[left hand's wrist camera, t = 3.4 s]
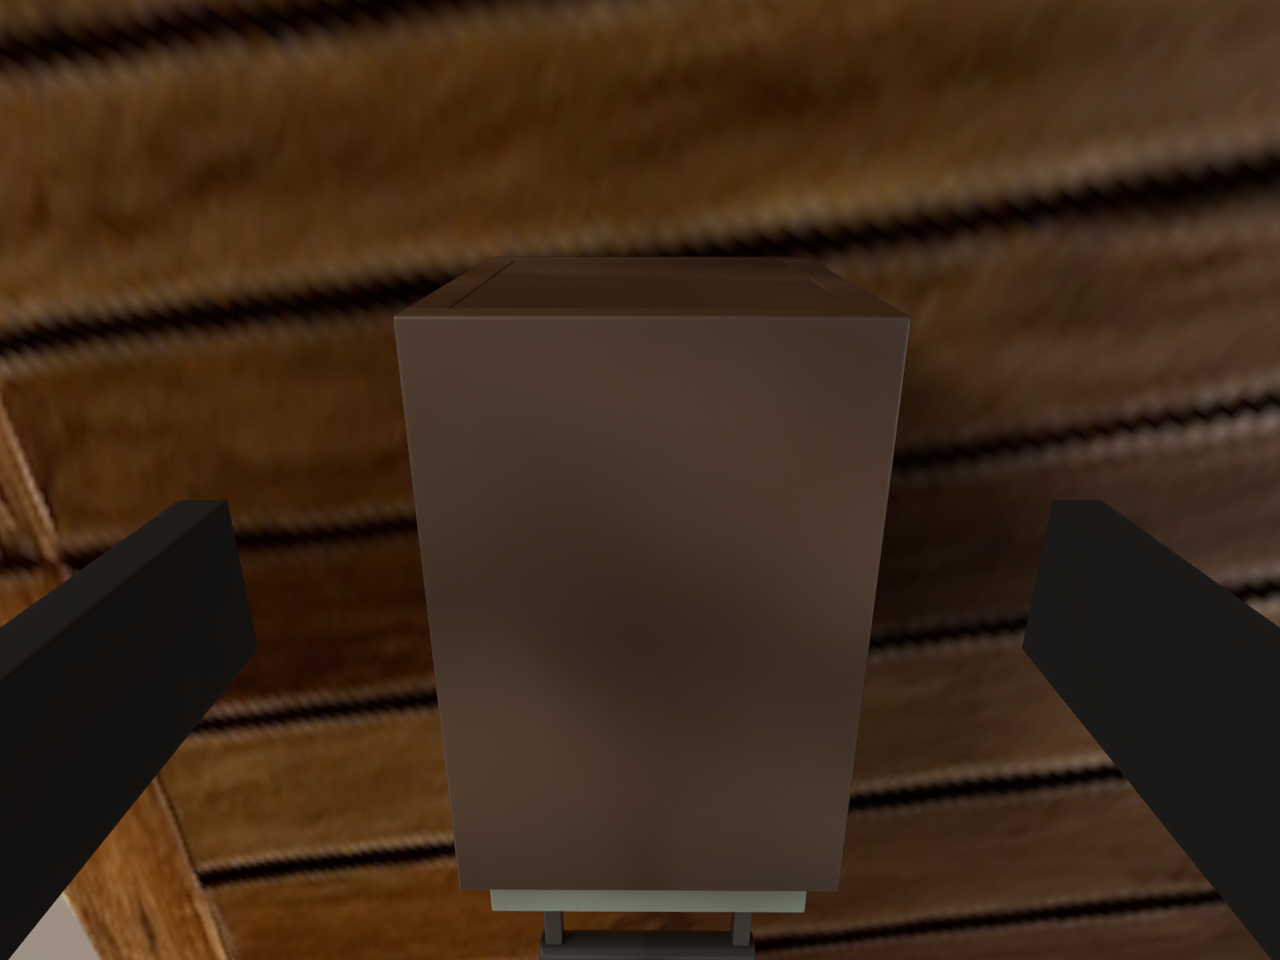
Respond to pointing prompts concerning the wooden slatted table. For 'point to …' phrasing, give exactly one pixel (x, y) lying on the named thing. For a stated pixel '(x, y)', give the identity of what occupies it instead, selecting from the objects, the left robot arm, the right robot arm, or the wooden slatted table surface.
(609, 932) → the drawer
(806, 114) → the wooden slatted table surface
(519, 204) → the wooden slatted table surface
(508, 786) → the cabinet
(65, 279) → the wooden slatted table surface
